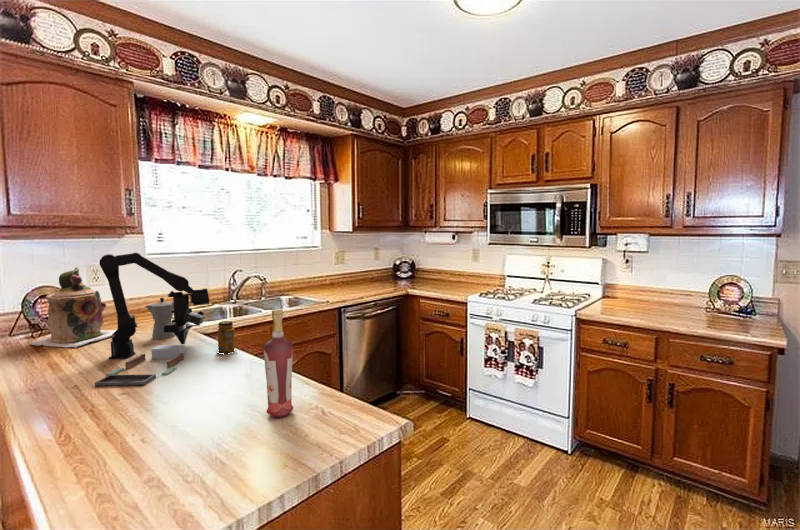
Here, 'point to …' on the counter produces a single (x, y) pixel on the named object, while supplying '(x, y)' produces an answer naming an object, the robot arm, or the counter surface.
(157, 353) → the block
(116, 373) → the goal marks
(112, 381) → the tray
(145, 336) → the counter surface
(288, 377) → the liquor
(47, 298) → the cookie jar
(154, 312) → the coffeepot
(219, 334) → the condiment
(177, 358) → the brown wooden beams
